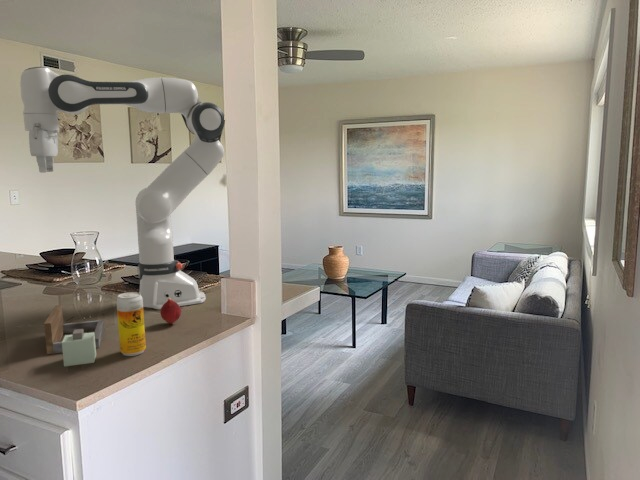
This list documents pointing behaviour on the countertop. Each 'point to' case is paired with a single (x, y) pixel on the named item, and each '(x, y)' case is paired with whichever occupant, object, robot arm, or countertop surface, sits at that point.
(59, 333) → the grey and wood frame
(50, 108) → the robot arm
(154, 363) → the countertop surface
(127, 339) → the beer can
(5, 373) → the countertop surface
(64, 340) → the cabinet block
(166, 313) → the onion
